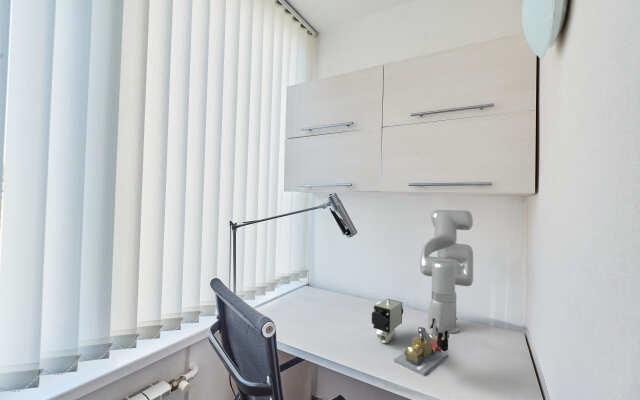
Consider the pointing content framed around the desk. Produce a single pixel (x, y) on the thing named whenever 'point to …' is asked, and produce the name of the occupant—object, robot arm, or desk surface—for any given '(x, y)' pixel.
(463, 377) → the desk surface
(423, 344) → the valve pipe
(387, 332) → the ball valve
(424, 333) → the lever
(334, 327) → the desk surface
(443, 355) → the base board
